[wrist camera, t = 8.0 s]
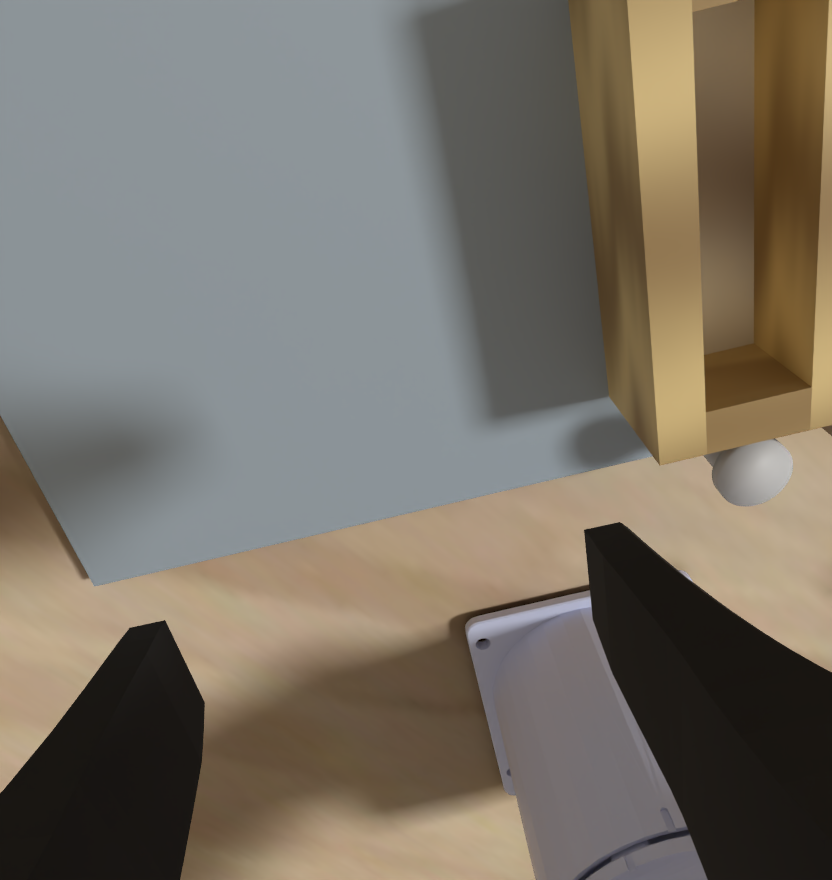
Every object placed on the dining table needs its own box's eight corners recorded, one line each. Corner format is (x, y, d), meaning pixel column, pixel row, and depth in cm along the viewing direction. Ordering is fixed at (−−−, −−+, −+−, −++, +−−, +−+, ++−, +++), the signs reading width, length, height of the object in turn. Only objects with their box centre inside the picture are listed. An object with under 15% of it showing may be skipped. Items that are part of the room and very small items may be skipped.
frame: (775, 357, 22) (858, 418, 19) (609, 396, 22) (659, 465, 19) (783, -88, 17) (900, -116, 13) (564, -33, 17) (623, -47, 14)
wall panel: (899, 389, 24) (993, 450, 20) (98, 576, 24) (59, 666, 21) (973, -279, 16) (1144, -360, 13) (-204, 18, 17) (-343, 16, 13)
